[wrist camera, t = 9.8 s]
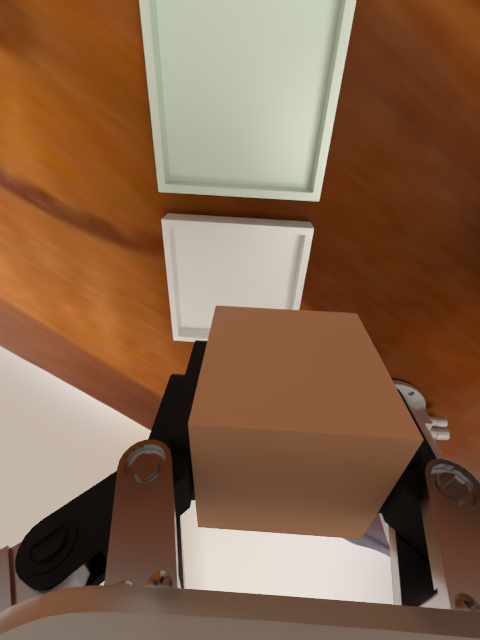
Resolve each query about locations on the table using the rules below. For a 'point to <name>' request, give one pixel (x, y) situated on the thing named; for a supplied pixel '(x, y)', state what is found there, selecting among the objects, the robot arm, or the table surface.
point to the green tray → (244, 93)
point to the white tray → (231, 267)
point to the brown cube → (295, 424)
